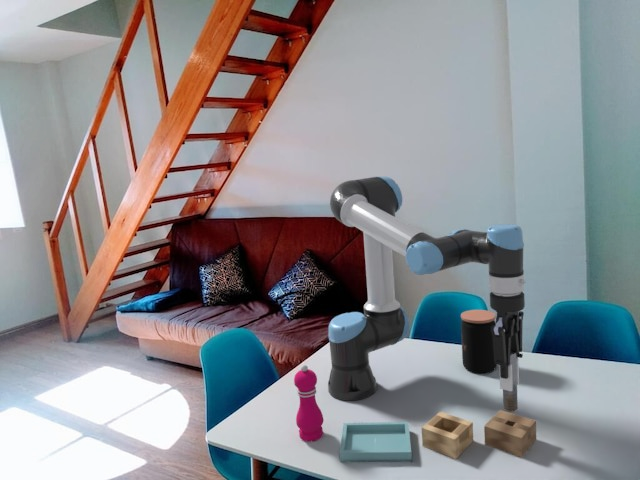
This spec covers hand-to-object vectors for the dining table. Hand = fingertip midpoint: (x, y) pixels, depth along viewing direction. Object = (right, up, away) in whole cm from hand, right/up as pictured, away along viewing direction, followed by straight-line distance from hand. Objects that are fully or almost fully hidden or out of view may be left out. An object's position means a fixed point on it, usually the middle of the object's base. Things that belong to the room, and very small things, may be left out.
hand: (509, 385), depth 118 cm
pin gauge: (+1, -6, +1) cm, 6 cm away
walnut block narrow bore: (+1, -15, +3) cm, 15 cm away
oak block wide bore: (-14, -16, +5) cm, 21 cm away
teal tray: (-31, -17, +6) cm, 36 cm away
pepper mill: (-48, -17, +14) cm, 53 cm away
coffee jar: (+7, -7, +43) cm, 44 cm away
